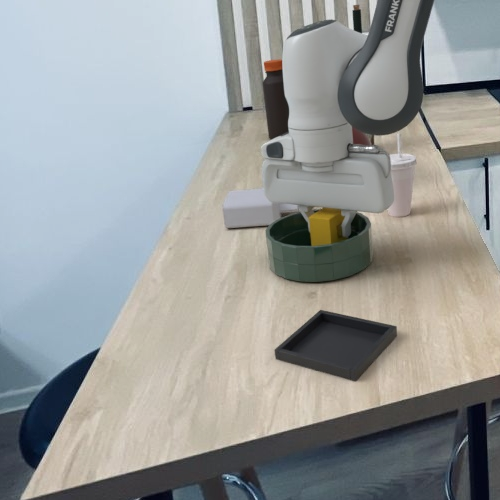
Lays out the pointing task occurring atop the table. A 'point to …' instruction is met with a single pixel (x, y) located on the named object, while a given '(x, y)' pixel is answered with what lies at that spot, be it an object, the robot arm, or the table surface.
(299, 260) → the basin
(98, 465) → the table surface
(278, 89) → the vinegar
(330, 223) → the sponge
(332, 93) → the robot arm
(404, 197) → the smoothie
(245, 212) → the charger
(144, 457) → the table surface
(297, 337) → the square tray
